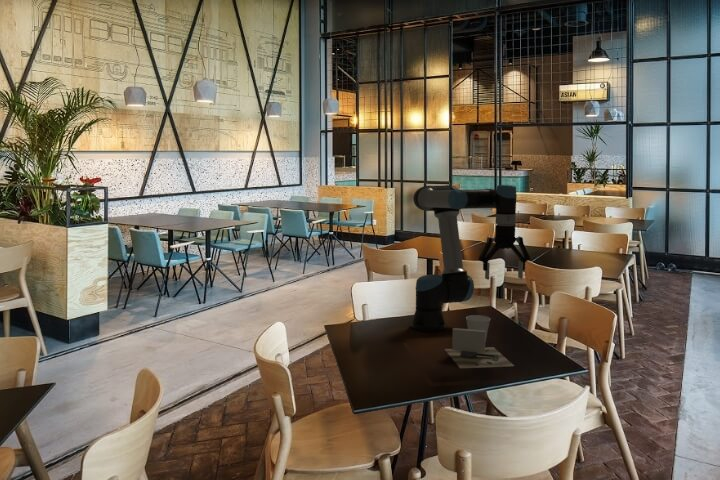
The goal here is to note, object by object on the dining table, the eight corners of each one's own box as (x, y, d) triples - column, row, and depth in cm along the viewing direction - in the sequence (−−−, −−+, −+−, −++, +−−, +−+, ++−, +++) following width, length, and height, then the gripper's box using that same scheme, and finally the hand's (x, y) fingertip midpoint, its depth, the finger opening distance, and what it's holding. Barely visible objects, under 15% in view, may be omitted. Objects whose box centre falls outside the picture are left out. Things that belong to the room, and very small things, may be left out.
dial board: (444, 352, 232) (444, 348, 232) (493, 350, 234) (493, 346, 234) (460, 371, 210) (460, 367, 210) (514, 369, 212) (514, 365, 212)
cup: (490, 348, 236) (490, 322, 234) (464, 347, 238) (465, 320, 236) (489, 341, 245) (490, 315, 244) (465, 340, 247) (465, 314, 246)
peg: (451, 356, 222) (452, 330, 221) (453, 351, 228) (454, 326, 227) (493, 360, 218) (494, 334, 217) (494, 355, 224) (495, 329, 222)
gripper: (477, 226, 225) (476, 281, 228) (540, 225, 228) (537, 279, 231) (471, 224, 232) (470, 277, 235) (532, 223, 235) (530, 275, 238)
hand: (503, 278), depth 233 cm, fingers open, 13 cm apart
